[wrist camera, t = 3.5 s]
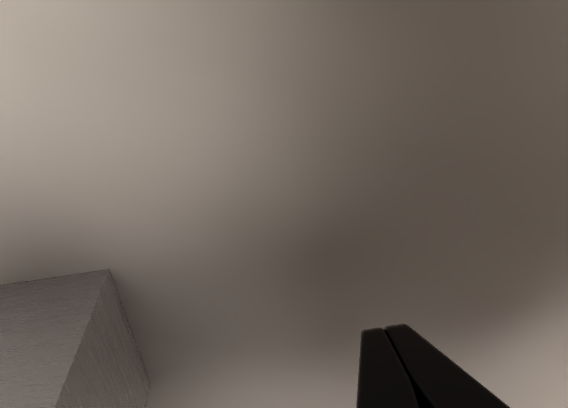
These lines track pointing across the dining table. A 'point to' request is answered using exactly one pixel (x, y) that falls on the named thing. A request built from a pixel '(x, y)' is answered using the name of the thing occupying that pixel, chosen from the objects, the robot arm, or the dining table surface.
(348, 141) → the dining table surface
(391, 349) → the robot arm
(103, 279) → the long grey bar
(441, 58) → the dining table surface
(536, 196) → the dining table surface
